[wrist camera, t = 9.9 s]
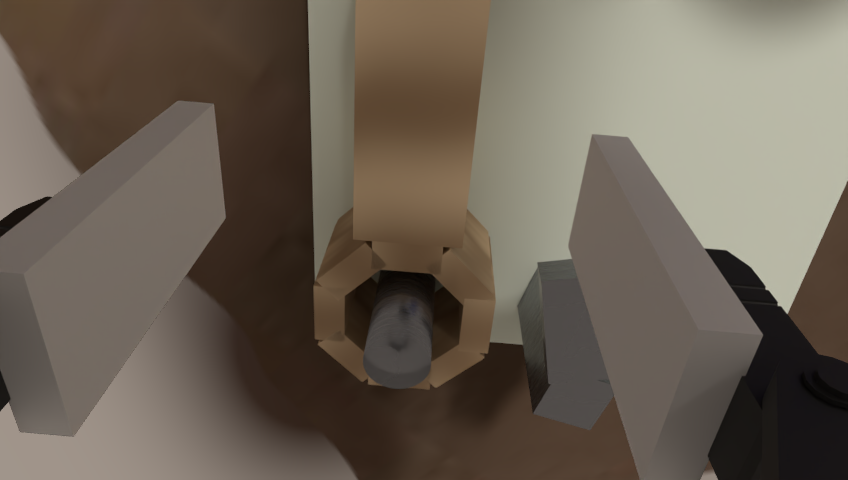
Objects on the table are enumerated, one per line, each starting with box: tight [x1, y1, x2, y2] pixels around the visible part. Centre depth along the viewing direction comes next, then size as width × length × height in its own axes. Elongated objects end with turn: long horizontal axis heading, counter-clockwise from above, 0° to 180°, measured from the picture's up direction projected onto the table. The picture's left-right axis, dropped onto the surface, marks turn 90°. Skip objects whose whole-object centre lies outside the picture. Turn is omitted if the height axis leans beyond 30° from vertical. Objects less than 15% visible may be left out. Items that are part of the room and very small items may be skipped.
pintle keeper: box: [363, 259, 614, 430], centre depth 25 cm, size 7×10×9 cm
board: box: [308, 0, 848, 345], centre depth 26 cm, size 20×22×1 cm
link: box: [313, 0, 496, 390], centre depth 24 cm, size 18×7×5 cm, turn 176°
